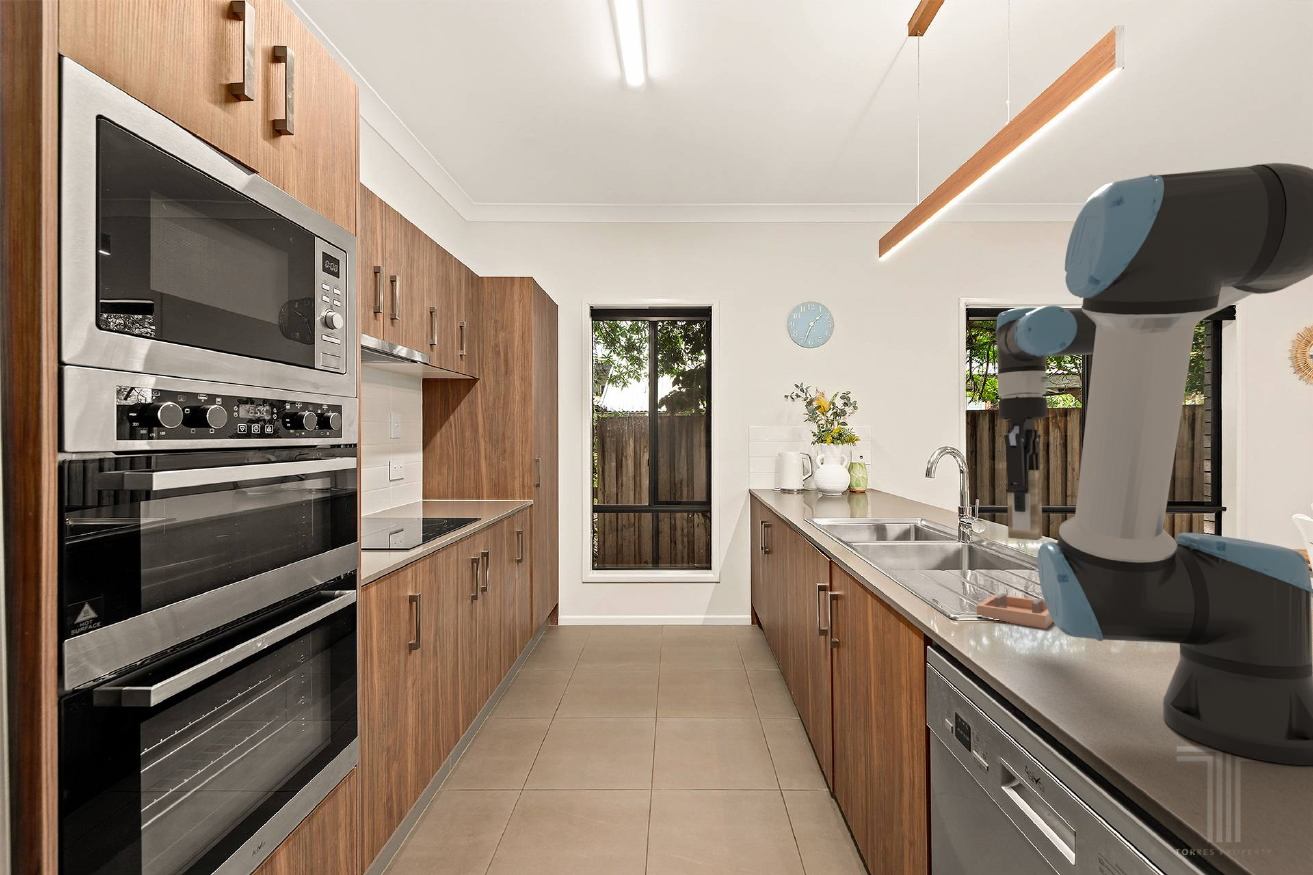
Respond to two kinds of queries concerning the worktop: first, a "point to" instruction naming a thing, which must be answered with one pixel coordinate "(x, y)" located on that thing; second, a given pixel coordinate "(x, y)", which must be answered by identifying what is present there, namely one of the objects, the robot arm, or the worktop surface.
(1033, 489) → the tan wooden block
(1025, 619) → the candle dish
